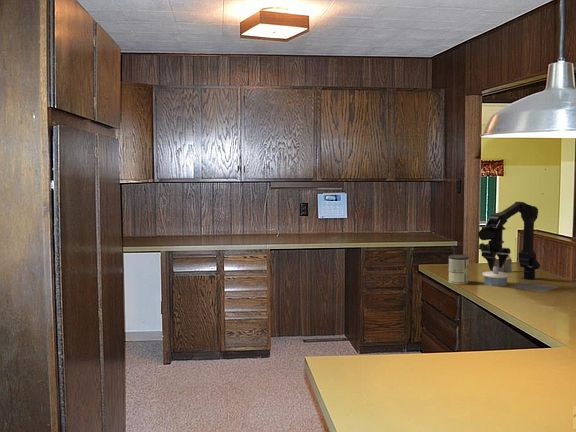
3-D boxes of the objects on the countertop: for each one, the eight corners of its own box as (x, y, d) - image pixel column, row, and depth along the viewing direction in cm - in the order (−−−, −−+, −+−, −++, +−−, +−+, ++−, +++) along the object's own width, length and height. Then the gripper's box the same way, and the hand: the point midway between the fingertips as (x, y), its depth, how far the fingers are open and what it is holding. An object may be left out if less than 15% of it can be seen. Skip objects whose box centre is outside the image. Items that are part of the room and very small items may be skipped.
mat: (525, 282, 311) (525, 281, 311) (559, 287, 298) (559, 286, 298) (508, 287, 300) (508, 286, 300) (542, 293, 286) (542, 292, 286)
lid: (490, 272, 316) (490, 263, 315) (513, 275, 306) (514, 267, 305) (477, 275, 307) (477, 267, 307) (500, 279, 297) (501, 270, 297)
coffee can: (446, 280, 320) (447, 254, 319) (466, 280, 319) (466, 254, 318) (449, 284, 310) (450, 257, 309) (470, 284, 309) (470, 257, 308)
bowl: (491, 282, 315) (491, 272, 314) (510, 285, 306) (511, 275, 306) (480, 285, 308) (480, 275, 307) (499, 288, 299) (500, 278, 299)
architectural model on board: (509, 271, 344) (509, 255, 344) (511, 272, 341) (511, 256, 340) (490, 272, 344) (490, 255, 343) (491, 273, 341) (492, 256, 340)
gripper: (491, 235, 317) (491, 264, 318) (472, 239, 305) (472, 269, 306) (511, 237, 308) (510, 267, 310) (492, 241, 296) (491, 272, 298)
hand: (495, 268), depth 306 cm, fingers open, 9 cm apart
